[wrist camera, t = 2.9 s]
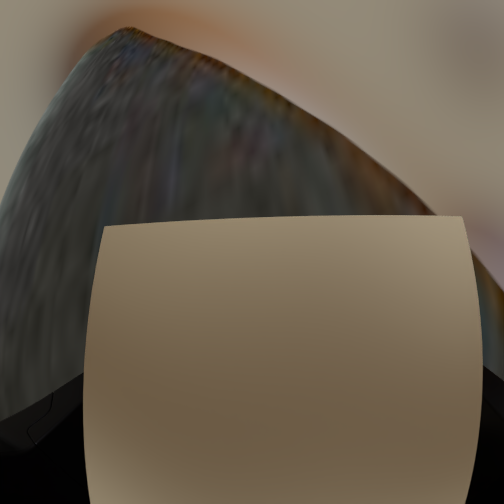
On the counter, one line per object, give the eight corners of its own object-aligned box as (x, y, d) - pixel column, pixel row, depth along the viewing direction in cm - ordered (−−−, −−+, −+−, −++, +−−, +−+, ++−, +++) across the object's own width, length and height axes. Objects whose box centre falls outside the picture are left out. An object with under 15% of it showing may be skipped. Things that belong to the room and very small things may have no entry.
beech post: (336, 419, 13) (446, 556, 1) (242, 419, 14) (98, 542, 2) (337, 329, 15) (462, 216, 3) (245, 330, 16) (104, 227, 4)
